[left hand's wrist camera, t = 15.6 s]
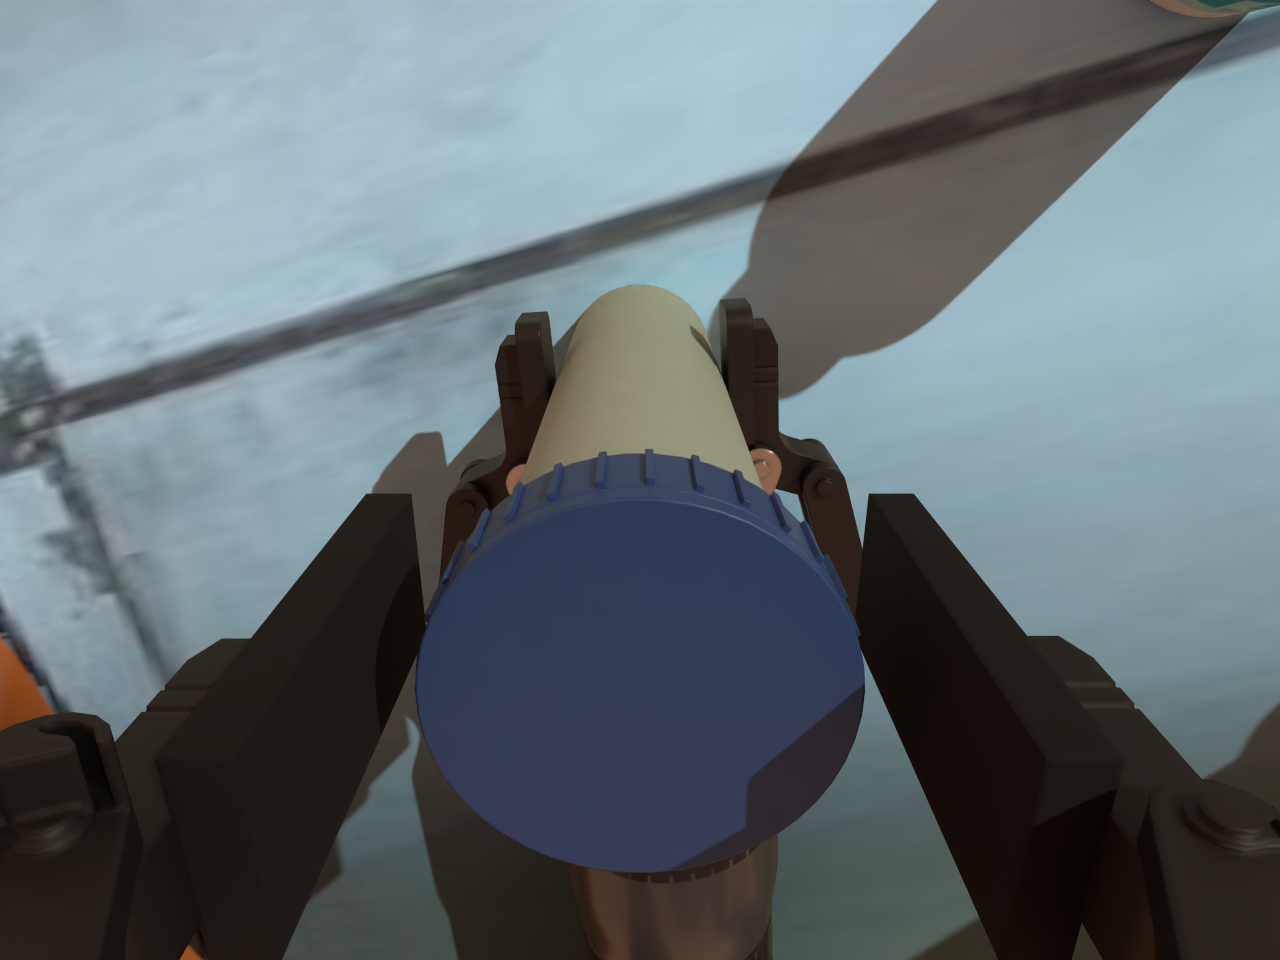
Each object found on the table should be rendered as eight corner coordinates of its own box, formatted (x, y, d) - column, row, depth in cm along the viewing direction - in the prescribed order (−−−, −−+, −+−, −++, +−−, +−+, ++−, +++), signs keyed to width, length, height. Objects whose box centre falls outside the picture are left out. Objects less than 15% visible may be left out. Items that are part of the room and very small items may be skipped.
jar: (566, 414, 30) (459, 804, 12) (575, 278, 28) (462, 499, 10) (700, 425, 30) (788, 828, 12) (716, 291, 28) (849, 531, 10)
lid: (838, 786, 13) (863, 867, 12) (467, 806, 13) (445, 887, 12) (849, 434, 11) (882, 478, 10) (404, 460, 11) (368, 508, 10)
